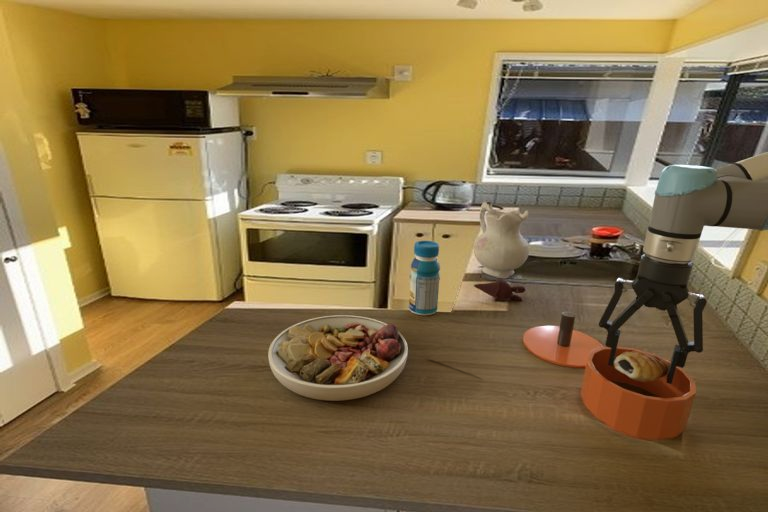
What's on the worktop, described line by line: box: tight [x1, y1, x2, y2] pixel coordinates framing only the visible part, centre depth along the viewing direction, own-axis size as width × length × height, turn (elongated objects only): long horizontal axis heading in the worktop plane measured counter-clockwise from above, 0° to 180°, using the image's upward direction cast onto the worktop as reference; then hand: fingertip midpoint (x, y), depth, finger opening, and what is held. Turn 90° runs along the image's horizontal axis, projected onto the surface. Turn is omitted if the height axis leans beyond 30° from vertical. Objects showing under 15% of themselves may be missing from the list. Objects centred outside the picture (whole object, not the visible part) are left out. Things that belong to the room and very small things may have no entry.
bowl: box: [267, 314, 409, 402], centre depth 93 cm, size 30×30×8 cm
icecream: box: [473, 278, 526, 302], centre depth 129 cm, size 7×7×15 cm
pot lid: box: [522, 311, 604, 369], centre depth 102 cm, size 19×19×9 cm
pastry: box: [613, 351, 669, 382], centre depth 79 cm, size 9×7×4 cm
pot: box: [579, 346, 697, 442], centre depth 81 cm, size 18×18×8 cm
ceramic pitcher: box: [473, 199, 531, 279], centre depth 151 cm, size 22×20×25 cm
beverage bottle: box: [408, 240, 441, 316], centre depth 119 cm, size 8×8×20 cm
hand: (639, 370), depth 80 cm, fingers closed on pastry, 9 cm apart
